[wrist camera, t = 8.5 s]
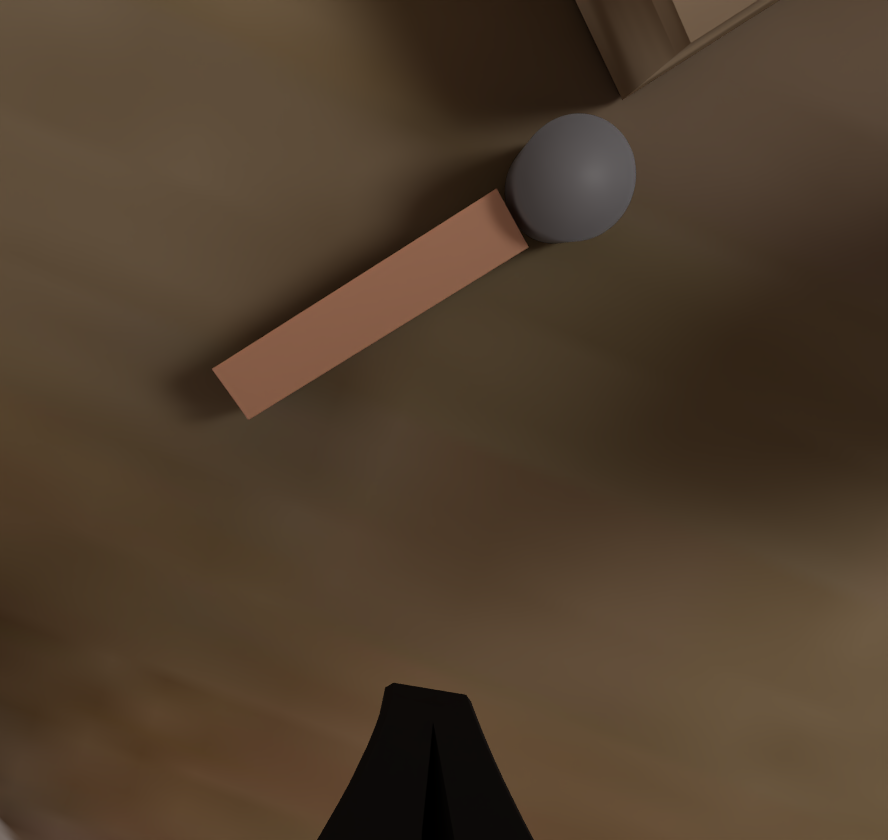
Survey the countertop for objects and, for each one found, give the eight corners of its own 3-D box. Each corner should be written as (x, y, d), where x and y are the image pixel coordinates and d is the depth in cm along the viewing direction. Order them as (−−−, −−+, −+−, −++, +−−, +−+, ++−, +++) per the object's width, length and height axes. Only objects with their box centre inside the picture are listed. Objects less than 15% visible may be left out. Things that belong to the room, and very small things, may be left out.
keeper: (577, 112, 15) (602, 88, 13) (624, 208, 16) (656, 200, 13) (221, 340, 16) (188, 353, 14) (278, 420, 17) (254, 444, 15)
